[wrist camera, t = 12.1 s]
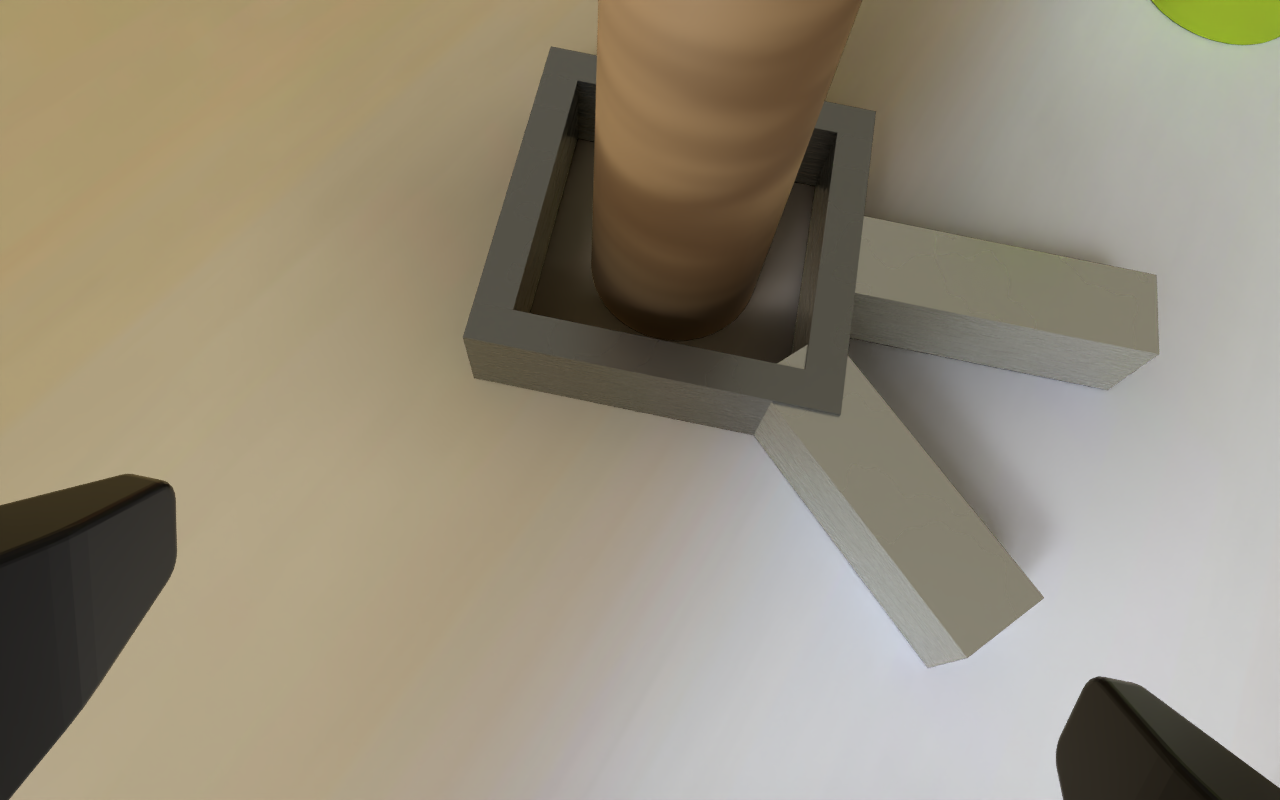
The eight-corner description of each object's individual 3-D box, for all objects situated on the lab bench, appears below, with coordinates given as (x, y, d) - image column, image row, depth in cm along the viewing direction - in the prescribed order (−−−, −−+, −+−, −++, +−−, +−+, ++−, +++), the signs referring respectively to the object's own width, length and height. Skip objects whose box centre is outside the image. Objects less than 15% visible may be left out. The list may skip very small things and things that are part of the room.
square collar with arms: (1110, 705, 22) (1173, 699, 20) (420, 562, 22) (401, 539, 20) (1106, 217, 27) (1154, 167, 25) (553, 106, 28) (551, 46, 25)
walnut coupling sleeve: (635, 365, 25) (689, -14, 13) (564, 228, 26) (552, -228, 14) (785, 303, 26) (970, -102, 14) (709, 175, 27) (815, -293, 15)
